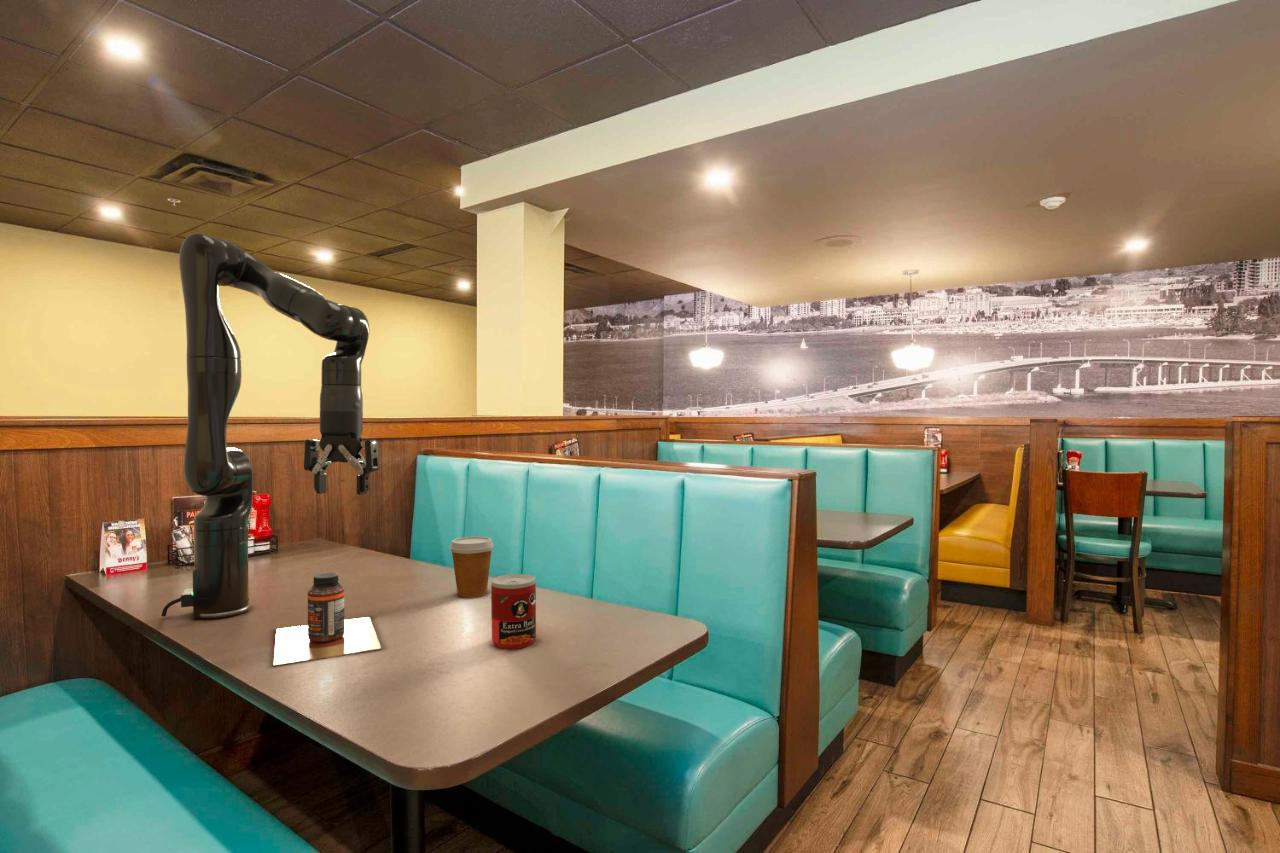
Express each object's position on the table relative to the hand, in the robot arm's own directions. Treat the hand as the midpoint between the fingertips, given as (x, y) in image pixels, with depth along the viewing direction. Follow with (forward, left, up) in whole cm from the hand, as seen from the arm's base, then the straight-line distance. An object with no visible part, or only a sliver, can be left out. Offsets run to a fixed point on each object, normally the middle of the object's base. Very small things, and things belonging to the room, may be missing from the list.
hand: (341, 493), depth 127 cm
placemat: (-3, -10, -25) cm, 27 cm away
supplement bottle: (-3, -10, -25) cm, 27 cm away
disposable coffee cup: (+27, +8, -25) cm, 38 cm away
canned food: (+26, -27, -25) cm, 45 cm away
